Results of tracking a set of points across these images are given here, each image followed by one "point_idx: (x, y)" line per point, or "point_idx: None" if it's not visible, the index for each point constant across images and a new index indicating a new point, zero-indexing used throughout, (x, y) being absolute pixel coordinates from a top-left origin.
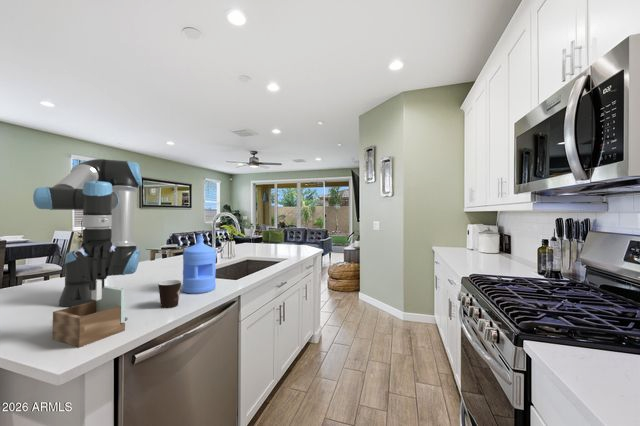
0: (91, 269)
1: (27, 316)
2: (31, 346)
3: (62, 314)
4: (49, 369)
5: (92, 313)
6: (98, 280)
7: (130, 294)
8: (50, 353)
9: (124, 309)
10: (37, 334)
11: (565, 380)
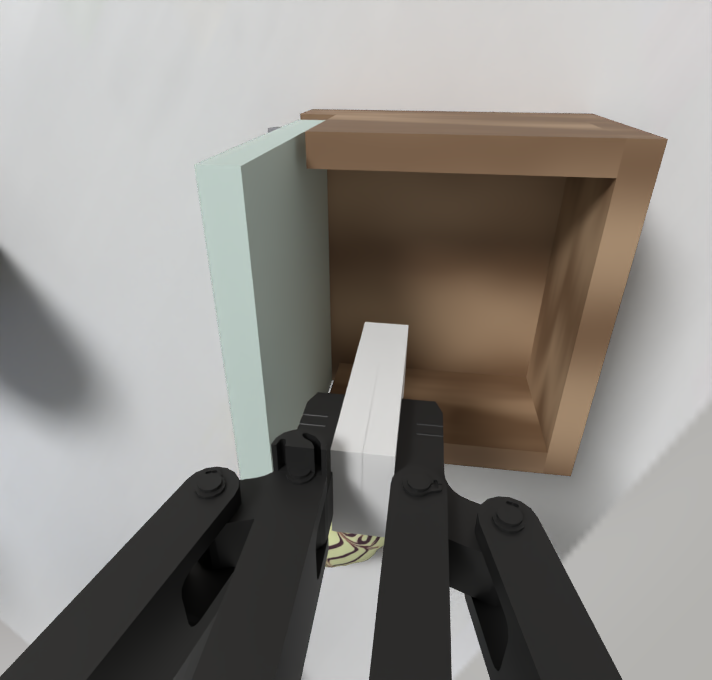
0: (447, 654)
1: None
2: (629, 373)
3: (597, 378)
4: None
5: None
6: (375, 450)
7: (39, 561)
8: (687, 195)
9: (274, 130)
10: (516, 476)
11: None
